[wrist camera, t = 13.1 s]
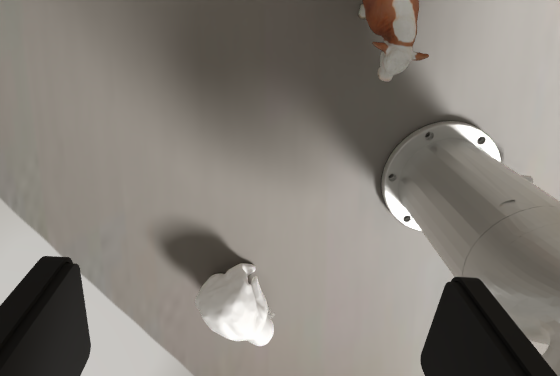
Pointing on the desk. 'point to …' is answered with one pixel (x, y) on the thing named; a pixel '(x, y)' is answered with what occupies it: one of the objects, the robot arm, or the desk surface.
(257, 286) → the white figurine
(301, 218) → the desk surface
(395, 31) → the bull figurine
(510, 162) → the desk surface
